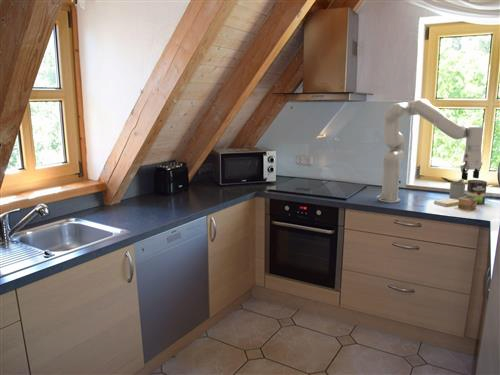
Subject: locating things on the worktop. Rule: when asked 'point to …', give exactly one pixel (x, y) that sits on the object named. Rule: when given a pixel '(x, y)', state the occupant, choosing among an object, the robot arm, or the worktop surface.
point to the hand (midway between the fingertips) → (470, 178)
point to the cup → (457, 190)
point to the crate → (467, 203)
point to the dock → (446, 202)
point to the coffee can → (477, 190)
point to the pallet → (466, 210)
